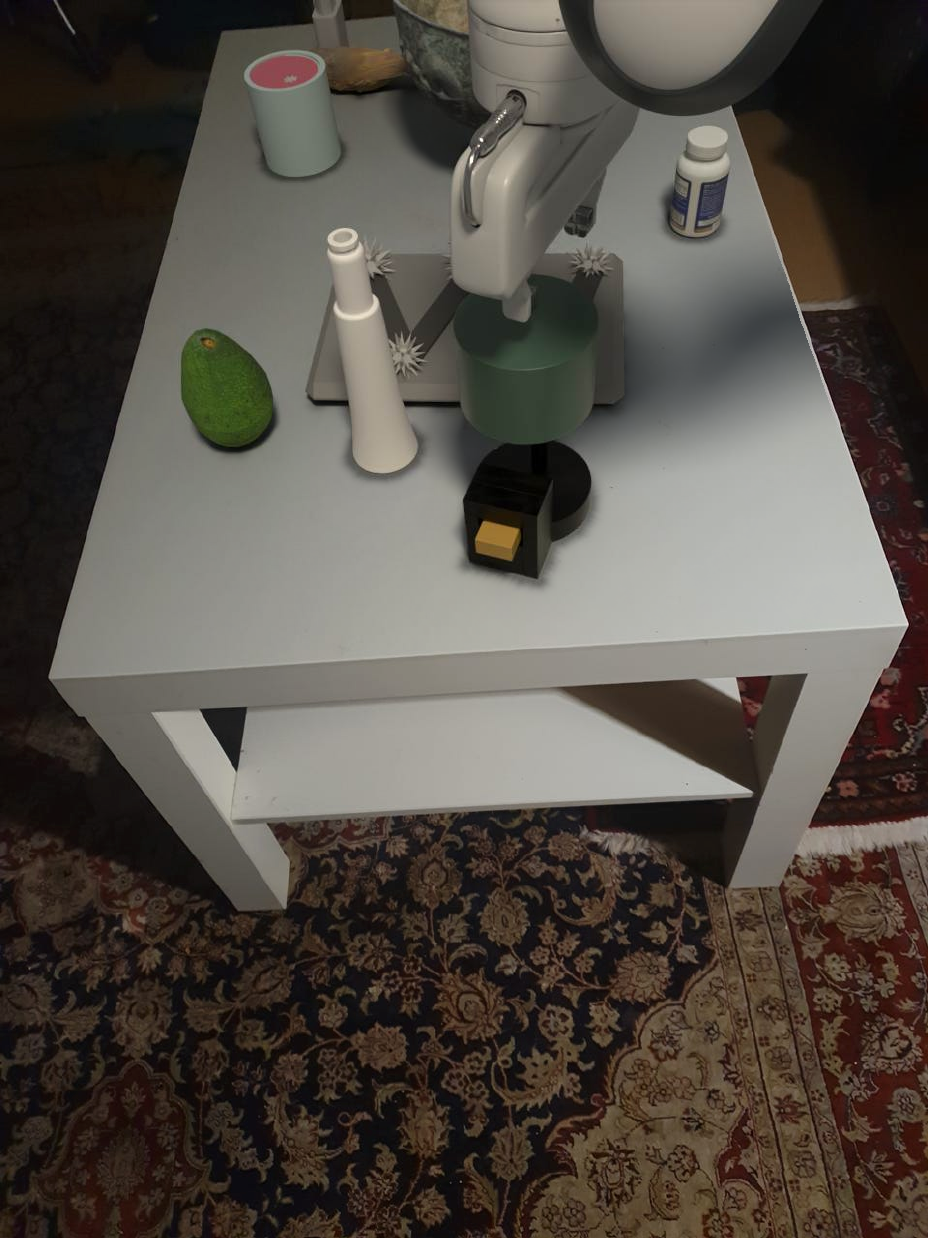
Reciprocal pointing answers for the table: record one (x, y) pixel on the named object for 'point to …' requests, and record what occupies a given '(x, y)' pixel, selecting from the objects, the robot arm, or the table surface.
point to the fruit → (224, 389)
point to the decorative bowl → (440, 56)
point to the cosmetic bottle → (367, 362)
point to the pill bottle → (700, 182)
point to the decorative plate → (425, 309)
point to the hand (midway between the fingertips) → (550, 270)
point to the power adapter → (330, 24)
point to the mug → (293, 112)
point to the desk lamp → (527, 415)
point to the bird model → (360, 67)
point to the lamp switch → (498, 540)
